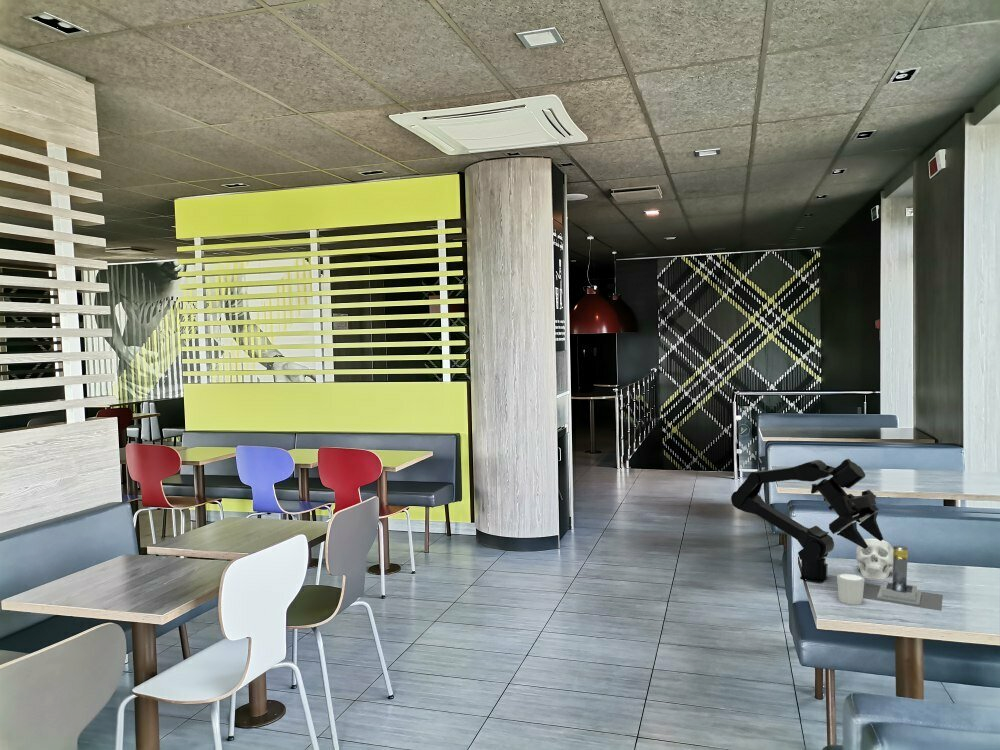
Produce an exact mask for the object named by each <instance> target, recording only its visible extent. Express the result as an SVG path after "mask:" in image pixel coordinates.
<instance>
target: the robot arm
mask: <svg viewBox="0 0 1000 750" xmlns="http://www.w3.org/2000/svg"><path fill="white" fill-rule="evenodd" d="M851 460H852V459H850V458H846V459H844V460H843V461H842V462H841V463H840V464H839V465H838V466H836V467H834V466H831V465H827V464H826V463H825V462H824V461H822V460H820V459H815V460H811V461H808V462H805V463H801V464H799V465H795V466H791V467H784V468H782V467H781V468H775V469H769V470H768V469H767V470H756V471H752V472H750V473H749V474H748V475H747V477H746V479H745V480H744V481H743V482H742V483H741V485H740V486H739V487H738V488H737V490H736V491H733V492H732V494H731V497H730V501H731V505H732V507H734V508H735V509H737V510H740V511H742V512H744V513H748V514H752V515H756V516H758V517H759V518H761V519H762V520H765V521H766V522H768V523H769V524H771V525H772V526H774V527H776V528H777V529H779V530H780V531H782V532H784V533H785V534H787V535H789V536H790V537H792V538H793V539H795V540H796V541H798V543H799V545H800V546H801V548H802V549H800V551H797V554H798V558H799V560H801V567H800V568H801V570H800V571H801V575H800V576H799V580H801V581H802V580H803V581H809V582H815V583H821V584H822V583H824V582H826V581H825V580H827V578H828V577H829V576H828V575H829V573H828V568H829V567H828V566H829V565H828V563H826V560H827V559H826V558H827V557H828V555H829V553H831V552H832V551H833V550H834V548H835V542H834V538H833V537H832V536H831V535H830V533H829V531H830V532H831V534H833V535H835V534H836V535H837V536H840V537H841V538H844V539H846V540H847V541H848V540H849V541H850V542H852V543H854V544H855V545H856V546H858V545H859V546H861V547H862V548H864V549H867V547H868V545H867V544H866V542H865V540H864V539H865V538H863V536H862V534H861V533H860V531H859V530H858V526H857V525H859V527H861V528H862V529H863V530H865V531H866V532H867V533H869V534H870V535H871V536H872V537H873V538H874V539H878V540H879V541H882V540H884V536H883V534H882V532H881V529H880V527H879V524H878V522H877V518H878V515H879V510H880V509H879V508H878V507H877V501H876V498H877V495H876V494H874V492H872V491H871V490H870V489H867V490H863V491H861V495H858V496H854V494H852V493H846V491H845V490H844V488H846V489H852V487H854V486H855V485H857V483H859V482H861V481H862V480H863V479H865V478H866V473H865V472H864V470H863V468H862V467H861V466H859V465H858V464H856V463H855V462H853V461H851ZM828 477H830V478H829V479H826V478H828ZM818 480H821V481H820V482H818V483H812V484H811V489H810V494H812V495H814V494H817V493H819V494H821V496H822V497H823V498H824V500H825V501H826V502H827V504H828V505H829V506H828V509H829V511H832V510H833V511H834V512H835V513H836V515H837V516H838V517H837V518H835V519H834V520H833V521H831V522H830V523H828V530H829V531H825V530H823V529H821V528H820V527H819V526H817V525H814V526H812V527H806V526H804V525H803V524H802V523H799V522H797V521H796V520H795V519H793V518H791V517H789V516H788V515H786V514H784V513H783V512H781V511H779V510H777V509H776V508H774V507H772V506H771V505H770V504H767V503H766V501H764V500H763V498H762V497H761V496H760V492H761V489H762V486H763V484H769V483H775V482H776V483H777V482H784V481H786V482H787V481H799V482H816V481H818ZM858 523H859V524H858ZM805 579H806V580H805Z"/></svg>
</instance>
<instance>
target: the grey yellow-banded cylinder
mask: <svg viewBox="0 0 1000 750" xmlns="http://www.w3.org/2000/svg"><path fill="white" fill-rule="evenodd" d="M892 548H893V569H892V581H891V582H892V590H897V591H903V592H906V585H908V584H907V581H908V558H909V557H908V556H909V548H908V547H907V546H905V545H893V547H892Z"/></svg>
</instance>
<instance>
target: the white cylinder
mask: <svg viewBox="0 0 1000 750" xmlns="http://www.w3.org/2000/svg"><path fill="white" fill-rule="evenodd" d="M865 578H866V577H864V576H863V575H858V574H855V573H839V574H837V575H836V581H837V593H838V601H839V602H841V603H843V604H847V605H854V606H855V605H861V604H863V599H864V598H863V590H864V583H865Z"/></svg>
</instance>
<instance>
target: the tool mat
mask: <svg viewBox="0 0 1000 750" xmlns="http://www.w3.org/2000/svg"><path fill="white" fill-rule="evenodd" d="M881 586H882V585H880V584H879V585H878V584H873V583H865V582H864V590H863V599H866V600H873V601H878V602H884V603H892V604H898V605H903V606H909V607H910V606H911V607H915V608H921V609H926V610H927V609H928V610H935V611H940V612H941V611H942V607H943V599H944V598H943V594H938V593H933V592H925V591H919V590H917V591H918V592H921V600H920V606H917V605H910V604H904V603H898V602H892V601H885V600H879V599H877V595H878V593H879V590H880V587H881Z"/></svg>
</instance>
